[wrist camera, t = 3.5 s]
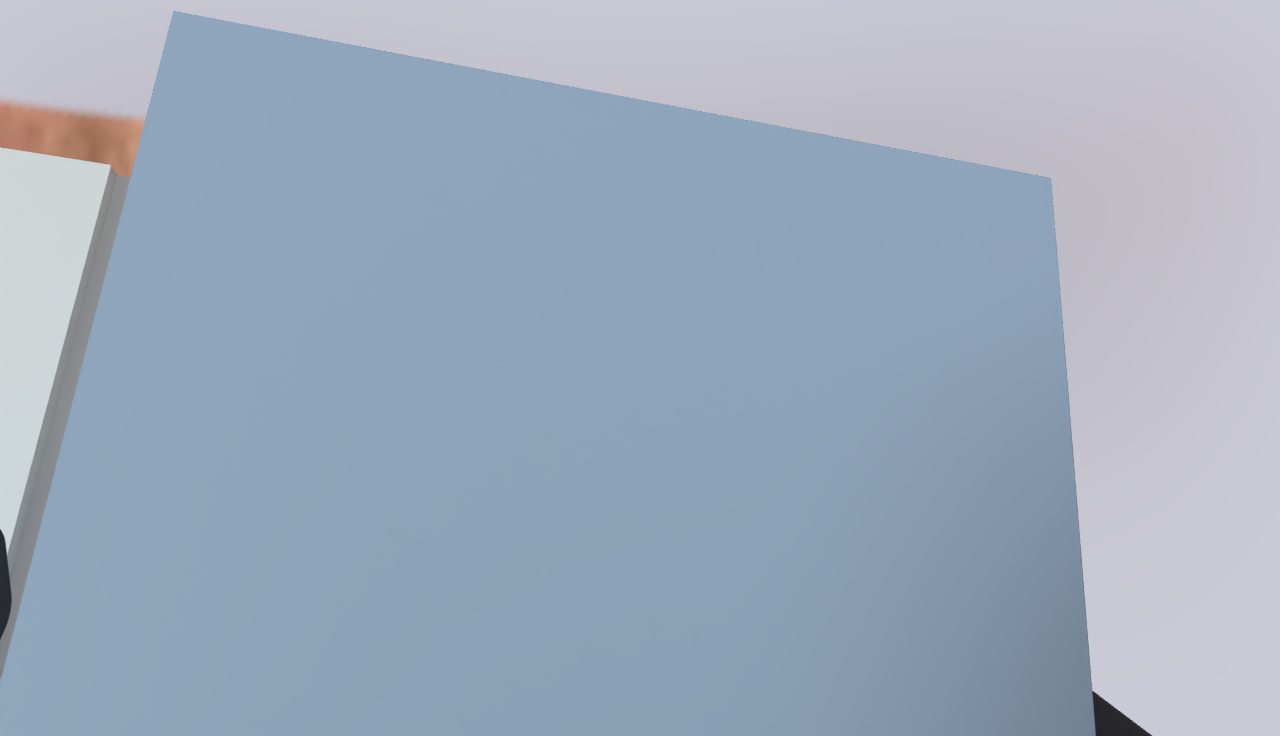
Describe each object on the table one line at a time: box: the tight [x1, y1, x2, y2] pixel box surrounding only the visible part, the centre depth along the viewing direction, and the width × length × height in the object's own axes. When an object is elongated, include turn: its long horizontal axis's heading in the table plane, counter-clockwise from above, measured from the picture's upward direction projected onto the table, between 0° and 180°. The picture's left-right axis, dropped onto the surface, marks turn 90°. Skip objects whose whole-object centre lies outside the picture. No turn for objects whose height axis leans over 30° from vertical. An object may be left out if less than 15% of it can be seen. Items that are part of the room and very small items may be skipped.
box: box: [0, 11, 1096, 736], centre depth 11 cm, size 5×5×13 cm
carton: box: [0, 148, 131, 681], centre depth 14 cm, size 14×17×4 cm
